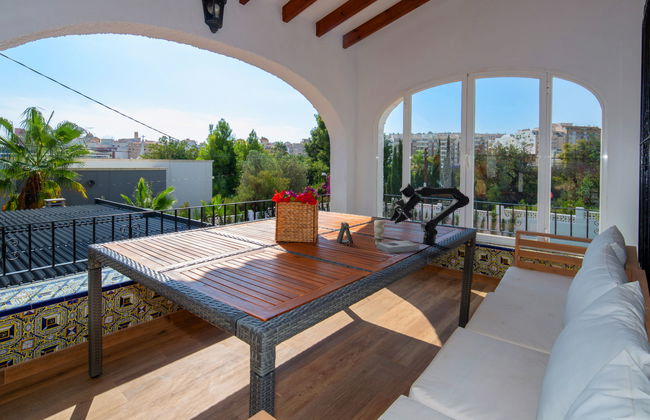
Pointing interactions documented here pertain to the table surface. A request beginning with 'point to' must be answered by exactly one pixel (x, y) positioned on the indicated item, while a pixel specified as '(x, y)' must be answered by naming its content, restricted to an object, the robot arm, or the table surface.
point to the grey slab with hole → (397, 246)
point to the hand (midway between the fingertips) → (392, 221)
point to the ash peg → (378, 231)
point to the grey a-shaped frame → (341, 233)
